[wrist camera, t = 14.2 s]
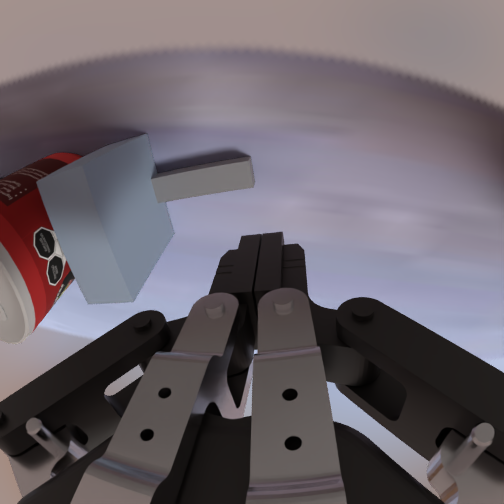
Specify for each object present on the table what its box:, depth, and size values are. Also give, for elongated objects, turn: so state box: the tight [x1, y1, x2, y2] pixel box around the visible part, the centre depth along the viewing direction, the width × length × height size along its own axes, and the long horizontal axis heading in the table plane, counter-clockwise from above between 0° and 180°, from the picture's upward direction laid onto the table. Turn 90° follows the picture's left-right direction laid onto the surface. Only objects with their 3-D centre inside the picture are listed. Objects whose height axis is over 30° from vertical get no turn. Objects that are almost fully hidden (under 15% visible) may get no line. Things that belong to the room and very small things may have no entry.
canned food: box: [0, 153, 83, 344], centre depth 16 cm, size 8×8×11 cm
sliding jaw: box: [36, 134, 255, 304], centre depth 16 cm, size 9×7×8 cm
